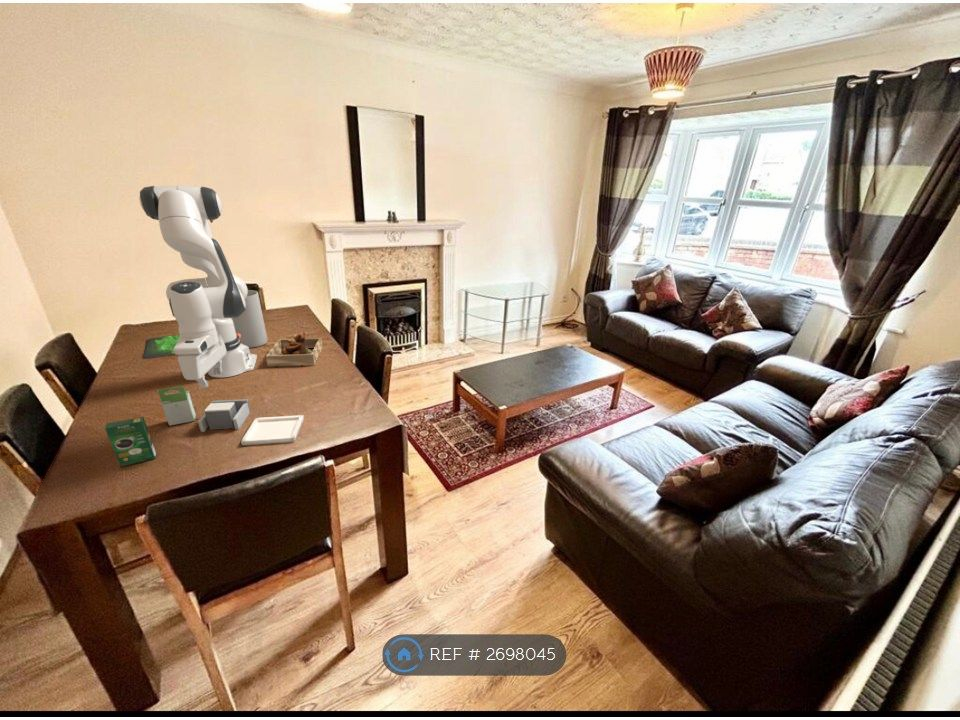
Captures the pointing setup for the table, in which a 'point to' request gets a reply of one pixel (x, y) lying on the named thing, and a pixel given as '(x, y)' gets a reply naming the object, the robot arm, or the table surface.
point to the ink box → (177, 405)
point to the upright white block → (220, 415)
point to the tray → (273, 430)
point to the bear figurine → (296, 346)
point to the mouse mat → (160, 346)
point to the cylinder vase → (251, 322)
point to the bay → (239, 418)
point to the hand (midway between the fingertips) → (211, 379)
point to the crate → (295, 359)
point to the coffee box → (131, 441)
